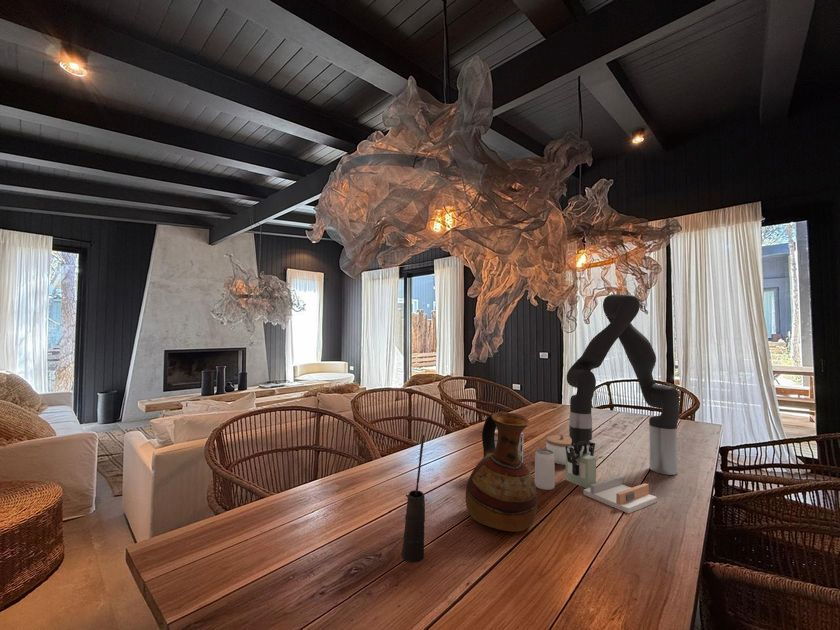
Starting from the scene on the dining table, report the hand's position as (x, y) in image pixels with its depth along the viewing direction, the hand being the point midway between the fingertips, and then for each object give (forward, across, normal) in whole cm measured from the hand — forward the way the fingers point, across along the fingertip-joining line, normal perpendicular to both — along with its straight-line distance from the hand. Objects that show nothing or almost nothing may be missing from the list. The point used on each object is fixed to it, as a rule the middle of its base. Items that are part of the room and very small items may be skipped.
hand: (580, 473), depth 134 cm
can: (+4, +14, -4) cm, 15 cm away
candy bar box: (+4, +20, -16) cm, 26 cm away
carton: (+3, 0, 0) cm, 3 cm away
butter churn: (+4, +75, +9) cm, 76 cm away
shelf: (+3, 0, +14) cm, 14 cm away
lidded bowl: (+4, -13, -18) cm, 22 cm away
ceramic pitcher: (+4, +44, +6) cm, 45 cm away
